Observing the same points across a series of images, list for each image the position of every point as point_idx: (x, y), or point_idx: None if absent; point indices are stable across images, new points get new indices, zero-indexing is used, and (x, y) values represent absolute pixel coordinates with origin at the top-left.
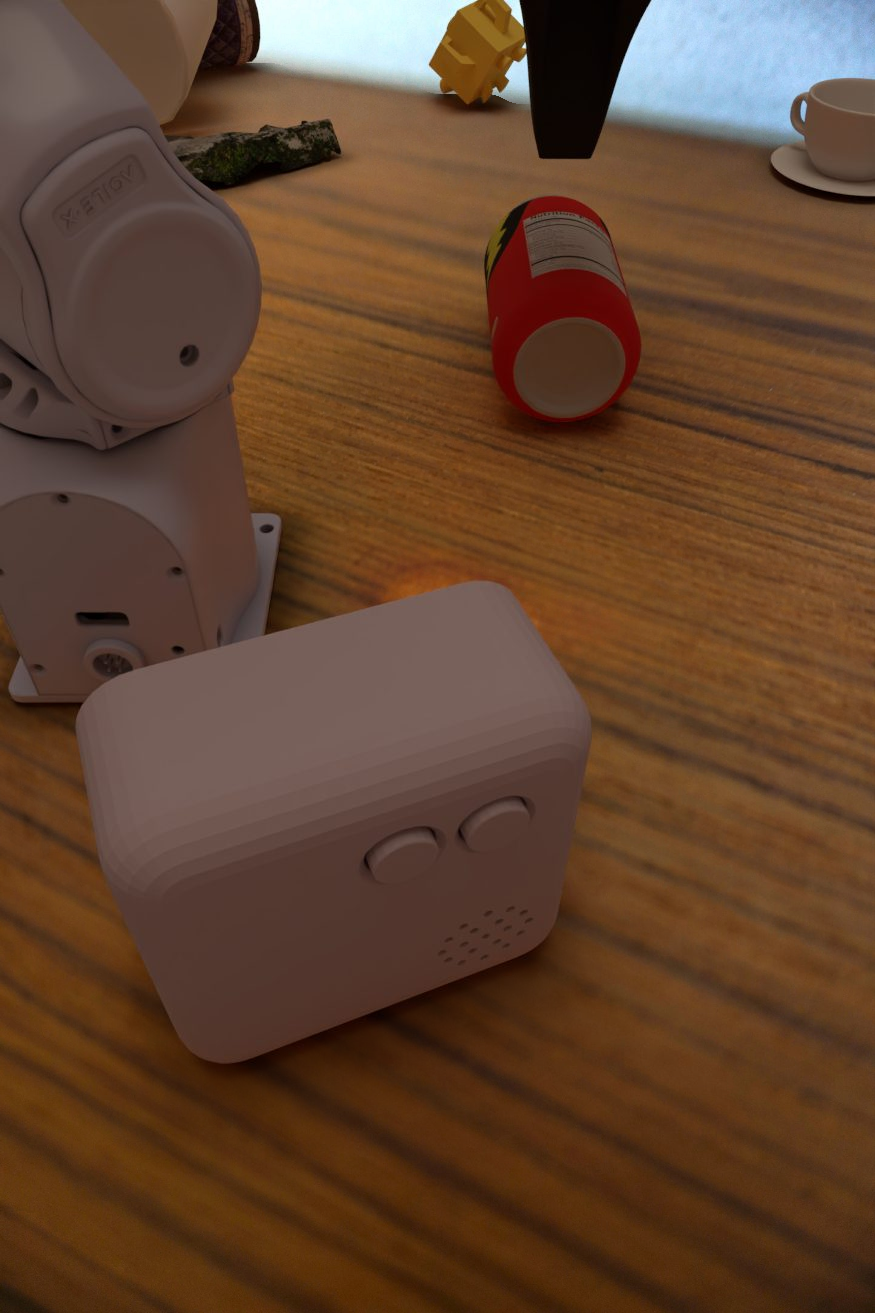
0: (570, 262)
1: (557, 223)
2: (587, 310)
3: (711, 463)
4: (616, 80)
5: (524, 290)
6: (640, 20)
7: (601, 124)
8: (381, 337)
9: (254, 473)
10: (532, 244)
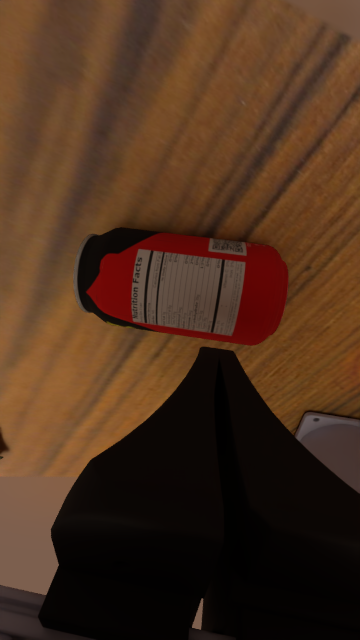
0: (226, 312)
1: (154, 305)
2: (280, 306)
3: (325, 191)
4: (257, 392)
5: (240, 340)
6: (305, 448)
7: (241, 366)
8: (147, 355)
9: None
10: (180, 326)
